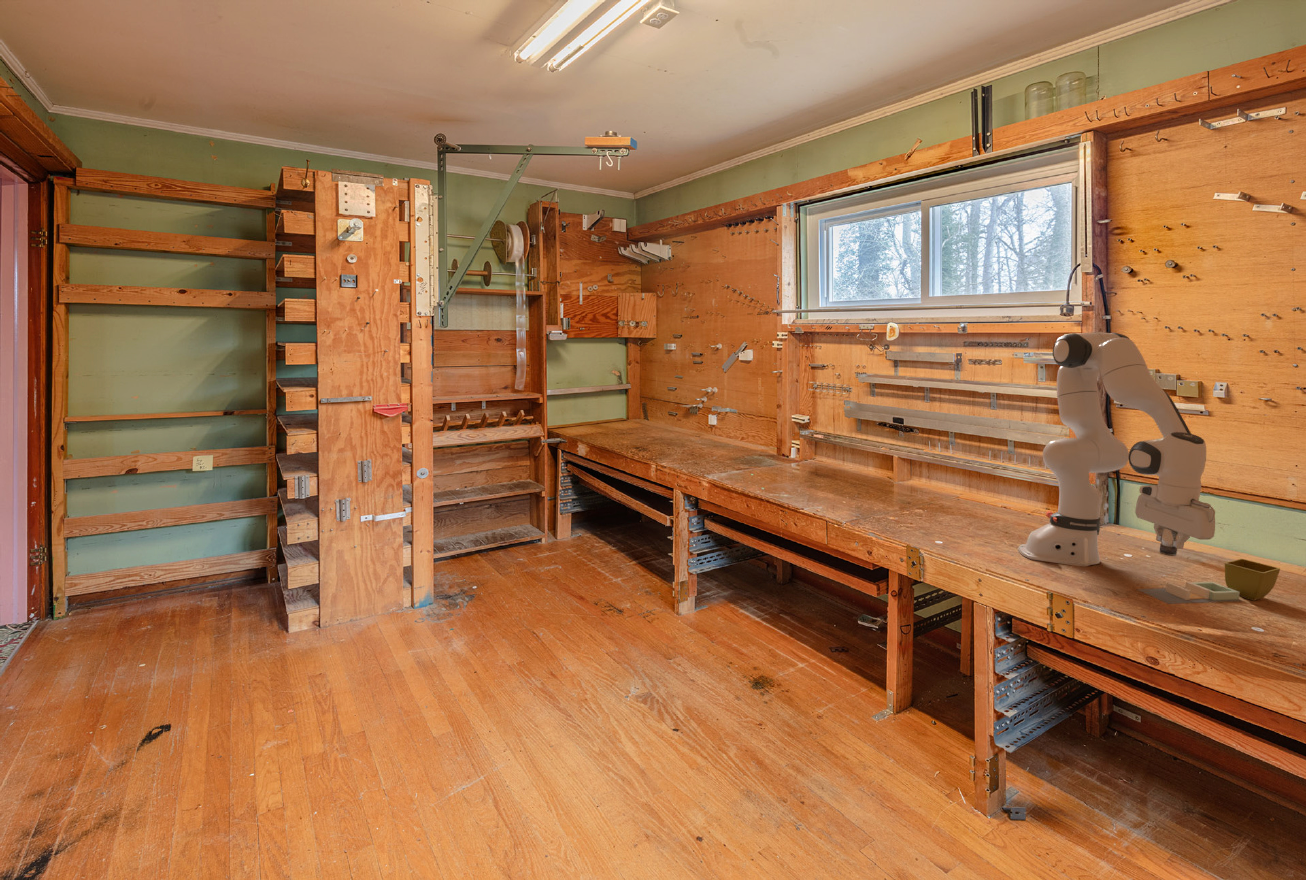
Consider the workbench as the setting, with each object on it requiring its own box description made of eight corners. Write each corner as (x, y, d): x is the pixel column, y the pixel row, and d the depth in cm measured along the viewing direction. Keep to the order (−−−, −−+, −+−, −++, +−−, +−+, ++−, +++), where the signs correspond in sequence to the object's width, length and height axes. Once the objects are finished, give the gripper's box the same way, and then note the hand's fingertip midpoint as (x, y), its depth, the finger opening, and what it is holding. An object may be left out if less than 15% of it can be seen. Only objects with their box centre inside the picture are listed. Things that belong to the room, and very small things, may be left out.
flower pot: (1258, 605, 171) (1263, 572, 170) (1219, 593, 179) (1223, 562, 178) (1275, 600, 175) (1281, 568, 174) (1236, 588, 183) (1241, 558, 182)
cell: (1162, 555, 172) (1167, 528, 170) (1156, 550, 175) (1161, 524, 174) (1178, 556, 171) (1183, 529, 169) (1172, 552, 174) (1177, 525, 173)
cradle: (1185, 599, 172) (1187, 591, 171) (1165, 591, 178) (1166, 582, 177) (1208, 599, 172) (1210, 590, 172) (1187, 590, 178) (1189, 581, 178)
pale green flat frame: (1213, 600, 172) (1214, 593, 171) (1186, 589, 179) (1187, 582, 179) (1238, 599, 173) (1239, 592, 172) (1211, 588, 180) (1212, 581, 180)
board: (1168, 607, 169) (1168, 603, 169) (1135, 592, 179) (1136, 589, 179) (1242, 604, 172) (1243, 601, 171) (1206, 590, 181) (1207, 586, 181)
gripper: (1227, 505, 160) (1217, 558, 163) (1155, 485, 180) (1147, 532, 183) (1204, 506, 159) (1194, 559, 162) (1134, 485, 179) (1127, 532, 182)
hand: (1169, 544), depth 173 cm, fingers closed on cell, 4 cm apart
